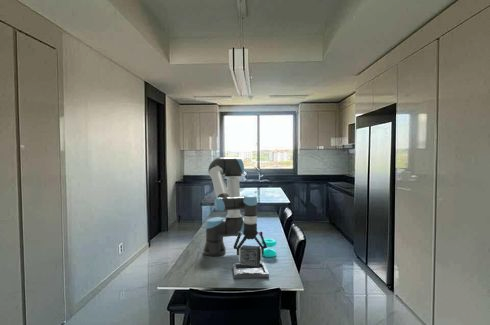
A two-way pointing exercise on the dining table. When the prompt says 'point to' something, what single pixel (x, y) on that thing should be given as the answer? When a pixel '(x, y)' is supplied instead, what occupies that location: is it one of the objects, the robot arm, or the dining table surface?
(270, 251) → the donuts
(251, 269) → the tray
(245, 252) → the small box
